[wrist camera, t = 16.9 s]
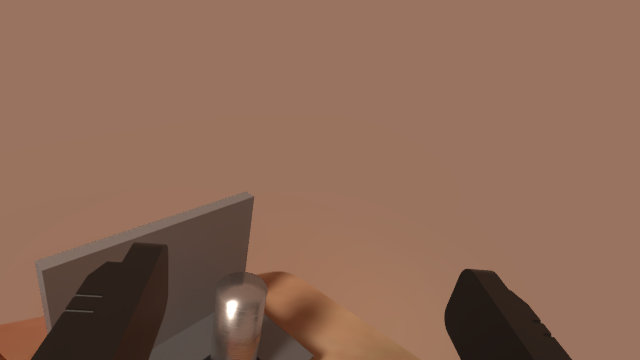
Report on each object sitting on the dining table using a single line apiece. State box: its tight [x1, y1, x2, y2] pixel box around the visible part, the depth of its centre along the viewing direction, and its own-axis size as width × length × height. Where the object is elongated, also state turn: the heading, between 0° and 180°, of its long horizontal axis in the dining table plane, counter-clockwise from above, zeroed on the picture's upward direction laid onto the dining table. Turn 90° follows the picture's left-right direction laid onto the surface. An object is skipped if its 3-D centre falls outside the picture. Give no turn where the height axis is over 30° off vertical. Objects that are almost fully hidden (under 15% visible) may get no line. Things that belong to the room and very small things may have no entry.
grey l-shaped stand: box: [35, 192, 314, 360], centre depth 32 cm, size 12×18×16 cm, turn 141°
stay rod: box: [210, 272, 267, 360], centre depth 33 cm, size 4×4×13 cm
